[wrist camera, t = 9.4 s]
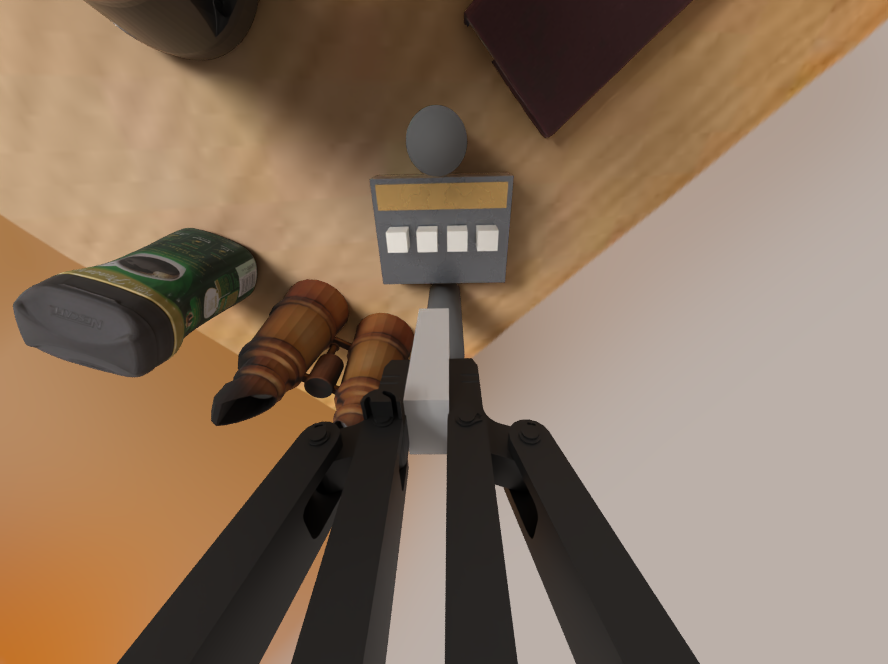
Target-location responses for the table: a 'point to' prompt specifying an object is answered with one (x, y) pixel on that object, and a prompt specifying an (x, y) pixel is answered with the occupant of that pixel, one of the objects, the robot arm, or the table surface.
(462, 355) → the post
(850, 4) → the table surface
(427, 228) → the row of white cubes
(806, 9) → the table surface
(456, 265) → the breaker box
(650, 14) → the book
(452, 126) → the post
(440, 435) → the robot arm
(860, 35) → the table surface
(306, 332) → the binoculars
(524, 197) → the table surface
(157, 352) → the coffee jar
